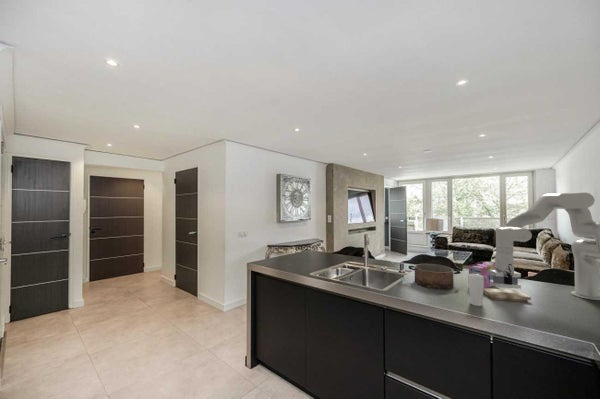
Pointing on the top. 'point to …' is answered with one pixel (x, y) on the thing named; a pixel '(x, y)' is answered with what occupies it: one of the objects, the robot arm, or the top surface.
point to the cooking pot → (434, 276)
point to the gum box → (483, 271)
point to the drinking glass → (476, 289)
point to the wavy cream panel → (506, 295)
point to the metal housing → (500, 279)
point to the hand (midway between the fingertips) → (504, 282)
